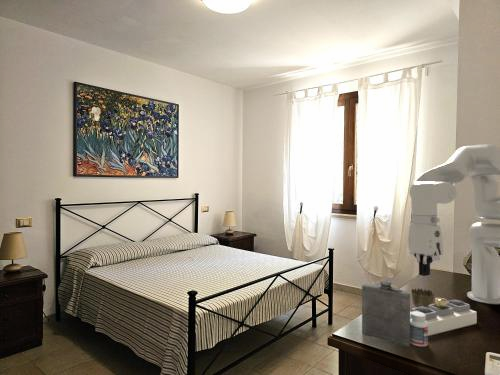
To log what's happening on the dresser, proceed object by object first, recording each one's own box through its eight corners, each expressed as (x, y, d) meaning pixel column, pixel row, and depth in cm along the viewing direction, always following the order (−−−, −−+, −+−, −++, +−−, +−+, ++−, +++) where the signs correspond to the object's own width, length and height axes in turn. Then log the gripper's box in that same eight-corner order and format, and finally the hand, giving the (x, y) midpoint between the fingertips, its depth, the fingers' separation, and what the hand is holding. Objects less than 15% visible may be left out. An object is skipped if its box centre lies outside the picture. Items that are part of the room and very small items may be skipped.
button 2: (455, 306, 119) (455, 299, 119) (465, 309, 115) (465, 302, 115) (448, 307, 117) (448, 300, 117) (458, 311, 114) (458, 303, 114)
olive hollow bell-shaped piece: (436, 317, 119) (436, 295, 119) (414, 315, 120) (414, 294, 120) (429, 309, 126) (430, 288, 126) (409, 308, 128) (409, 287, 127)
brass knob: (439, 304, 116) (439, 296, 116) (449, 307, 112) (449, 299, 112) (432, 305, 114) (432, 297, 114) (441, 309, 111) (441, 301, 111)
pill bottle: (427, 348, 97) (427, 318, 97) (407, 344, 100) (407, 315, 100) (428, 341, 101) (428, 312, 101) (409, 337, 104) (409, 309, 104)
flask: (364, 330, 109) (364, 276, 109) (411, 342, 101) (411, 284, 100) (360, 334, 107) (360, 278, 106) (408, 347, 98) (409, 287, 97)
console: (451, 313, 122) (452, 297, 122) (476, 323, 114) (476, 306, 113) (404, 324, 113) (405, 307, 113) (427, 335, 105) (427, 317, 105)
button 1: (423, 313, 113) (423, 305, 113) (432, 317, 109) (432, 309, 109) (415, 314, 111) (415, 307, 111) (424, 319, 108) (424, 311, 108)
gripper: (453, 221, 104) (453, 279, 105) (413, 216, 118) (414, 267, 119) (436, 223, 101) (436, 283, 102) (397, 218, 115) (398, 270, 116)
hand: (424, 274), depth 110 cm, fingers closed
